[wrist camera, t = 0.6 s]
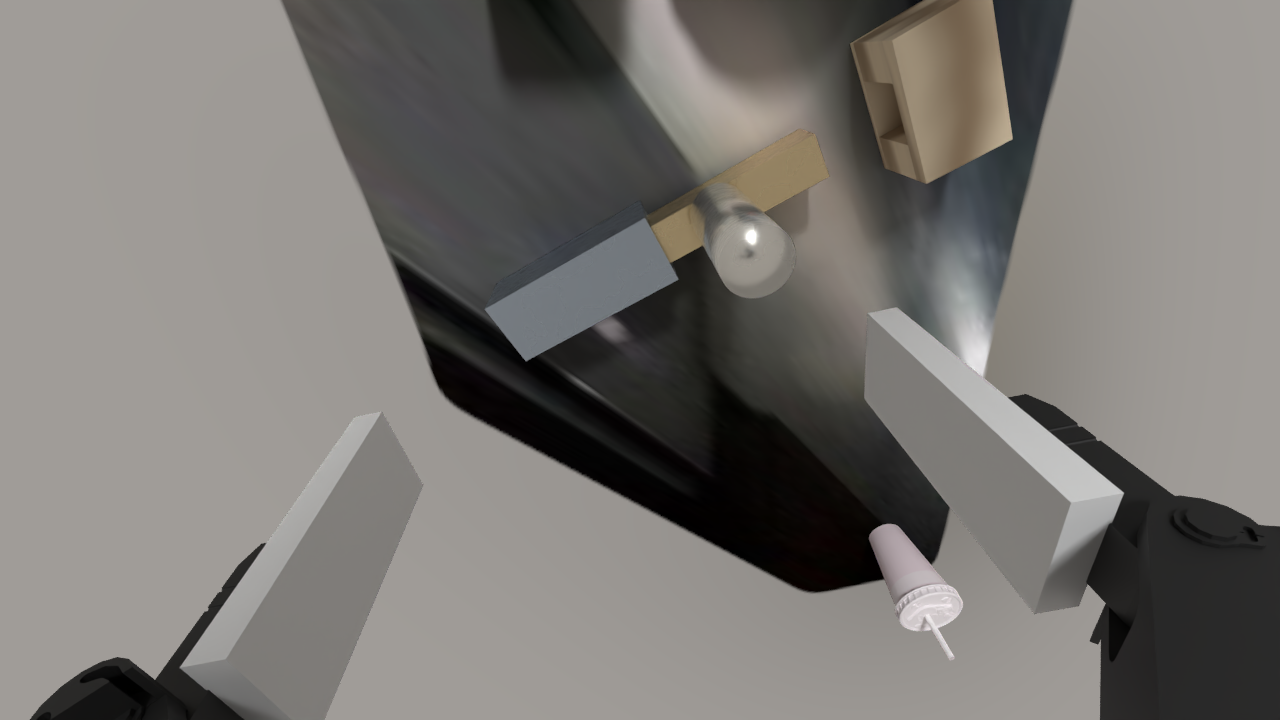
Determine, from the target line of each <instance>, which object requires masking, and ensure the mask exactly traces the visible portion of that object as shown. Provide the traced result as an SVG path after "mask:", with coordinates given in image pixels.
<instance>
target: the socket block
mask: <svg viewBox="0 0 1280 720" xmlns="http://www.w3.org/2000/svg"><path fill="white" fill-rule="evenodd" d="M850 46H851V50H852V53H853V57H854V60H855V64H856V68H857V71H858V75H859V78H860V82H861V85H862V89H863V93H864V96H865V100H866V103H867V107H868V111H869V114H870V118H871V121H872V125H873V128H874V132H875V136H876V139H877V143H878V146H879V150H880V153H881V157H882V161H883V164H884V168H885V169H888V170H891V171H893V172H896V173H899V174H901V175H904V176H907V177H909V178H912V179H915V180H917V181H920V182H923V183H925V184H927V183H929V182H931V181H933V180H935V179H937V178H939V177H941V176H943V175H945V174H947V173H949V172H951V171H952V170H954V169H956V168H958V167H960V166H962V165H964V164H966V163H968V162H970V161H972V160H974V159H975V158H977V157H979V156H981V155H983V154H985V153H987V152H989V151H991V150H993V149H995V148H997V147H999V146H1000V145H1002V144H1004V143H1006V142H1008V141H1010V140H1012V139H1013V138H1012V131H1011V124H1010V117H1009V110H1008V103H1007V97H1006V90H1005V83H1004V76H1003V69H1002V62H1001V56H1000V49H999V42H998V35H997V28H996V22H995V15H994V8H993V1H992V0H923V1H921V2H919V3H917V4H916V5H914V6H912V7H911V8H909V9H907V10H906V11H904V12H902V13H901V14H899V15H897V16H896V17H894V18H892V19H890V20H889V21H887V22H885V23H884V24H882V25H880V26H879V27H877V28H875V29H874V30H872V31H870V32H869V33H867V34H865V35H863V36H862V37H860V38H858V39H857V40H855V41H853V42H852V43H850Z"/></svg>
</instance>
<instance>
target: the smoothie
mask: <svg viewBox="0 0 1280 720" xmlns="http://www.w3.org/2000/svg"><path fill="white" fill-rule="evenodd" d="M869 541H870V543H871V546H872V548H873V551H874V553H875V556H876V559H877V561H878V564H879V566H880V569H881V571H882V574H883V576H884V579H885V581H886V584H887V586H888V589H889V591H890V594H891V597H892V599H893V601H894V604H895V606H896V608H895V614H896V616H897V618H898V619H899V621H900V623H901V625H902V626H903V627H905V628H906V629H909V630H912V631H928V630H932V631H933V633H934V635H935V637H936V638H937V640H938V642H939V643H940V645H941V647H942V648H943V650H944V652H945V654H946V655H947V657H948V659H949V660H953V659H954V658H955V657H954V655H953V654H952V652H951V650H950V649H949V647H948V645H947V643H946V642H945V640H944V639H943V637H942V635H941V633H940V632H939V630H938V628H939V627H941V626H944V625H946V624H948V623H949V622H951V621H952V620H953V619H955V618H956V617H957V616H958V614H959V613H960V612H961V610H962V607H963V601H962V599H961V598H960V596H959V594H958V592H957V590H956V589H954V588H953V587H951V586H948V585H947V583H946V582H945V581H944V580H943V578H942V577H941V576H940V575H939V574H938V573H937V571H936V570H935V569H934V568H933V567H932V566H931V564H930V563H929V562H928V561H927V560H926V558H925V557H924V556H923V555H922V554H921V552H920V551H919V550H918V549H917V548H916V547H915V545H914V544H913V543H912V542H911V541H910V539H909V538H908V537H907V536H906V535H905V533H904V532H903V531H902V530H901V529H900V528H899V527H898V526H897V525H894V524H885V525H882V526H879V527H877V528H876V529H874V530H873V531H872V532H871V534H870V536H869Z"/></svg>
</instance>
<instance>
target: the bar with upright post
mask: <svg viewBox="0 0 1280 720" xmlns="http://www.w3.org/2000/svg"><path fill="white" fill-rule="evenodd" d="M828 177H829V174H828V171H827V168H826V165H825V162H824V159H823V156H822V153H821V150H820V147H819V144H818V141H817V138H816V135H815V134H814V133H811V132H808V131H805V130H802V129H798V130H796V131H795V132H793V133H791V134H789V135H788V136H786V137H784V138H782V139H781V140H779V141H777V142H775V143H774V144H772V145H770V146H768V147H766V148H765V149H763V150H761V151H759V152H758V153H756V154H754V155H752V156H751V157H749V158H747V159H745V160H744V161H742V162H740V163H738V164H737V165H735V166H733V167H731V168H730V169H728V170H726V171H724V172H723V173H721V174H719V175H717V176H716V177H714V178H712V179H710V180H709V181H707V182H705V183H703V184H702V185H700V186H698V187H696V188H695V189H693V190H691V191H689V192H688V193H686V194H684V195H682V196H681V197H679V198H677V199H675V200H674V201H672V202H670V203H668V204H667V205H665V206H663V207H661V208H660V209H658V210H656V211H654V212H653V213H651V214H649V215H647V219H648V222H649V225H650V227H651V229H652V230H653V232H654V234H655V236H656V238H657V240H658V241H659V243H660V245H661V247H662V249H663V251H664V252H665V254H666V256H667V258H668V260H669V261H670V263H671V262H673V261H675V260H677V259H679V258H681V257H682V256H684V255H686V254H688V253H690V252H692V251H693V250H695V249H697V248H699V247H701V246H703V247H704V249H705V251H706V252H707V254H708V256H709V258H710V260H711V261H712V263H713V265H714V267H715V269H716V270H717V272H718V274H719V276H720V278H721V279H722V281H723V283H724V285H725V286H726V287H727V288H728V289H729V290H730V291H731V292H732V293H734V294H736V295H738V296H740V297H744V298H752V299H753V298H761V297H765V296H768V295H770V294H772V293H774V292H775V291H777V290H778V289H780V288H781V287H782V286H783V285H784V284H785V283H786V282H787V280H788V279H789V277H790V276H791V274H792V272H793V269H794V267H795V263H796V250H795V246H794V243H793V241H792V239H791V238H790V236H789V235H788V234H787V233H786V232H785V231H784V230H783V229H782V228H781V227H780V226H779V225H777V224H776V223H775V222H774V221H773V220H772V219H771V218H770V217H769V216H768V215H767V214H766V213H764V212H765V211H767V210H769V209H771V208H773V207H774V206H776V205H778V204H780V203H782V202H784V201H785V200H787V199H789V198H791V197H793V196H795V195H796V194H798V193H800V192H802V191H804V190H806V189H807V188H809V187H811V186H813V185H815V184H817V183H818V182H820V181H822V180H824V179H826V178H828Z"/></svg>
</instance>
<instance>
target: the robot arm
mask: <svg viewBox="0 0 1280 720" xmlns="http://www.w3.org/2000/svg"><path fill="white" fill-rule="evenodd" d="M864 399H865V400H866V402H867V403H868V404H869V406H870V407H871V408H872V409H873V411H874V412H875V413H876V414H877V416H878V417H879V418H880V419H881V421H882V422H883V423H884V424H885V426H886V427H887V428H888V430H889V431H890V432H891V433H892V435H893V436H894V437H895V438H896V440H897V441H898V442H899V443H900V445H901V446H902V447H903V449H904V450H905V451H906V452H907V454H908V455H909V456H910V457H911V459H912V460H913V461H914V462H915V464H916V465H917V466H918V468H919V469H920V470H921V471H922V473H923V474H924V475H925V476H926V478H927V479H928V480H929V481H930V483H931V484H932V485H933V487H934V488H935V489H936V490H937V492H938V493H939V494H940V495H941V497H942V498H943V499H944V500H945V502H946V503H947V504H948V506H949V507H950V508H951V509H952V511H953V512H954V513H955V514H956V515H957V517H958V518H959V519H960V521H961V522H962V523H963V525H964V526H965V527H966V528H967V530H968V531H969V532H970V533H971V535H972V536H973V537H974V538H975V540H976V541H977V542H978V543H979V545H980V546H981V547H982V549H983V550H984V551H985V552H986V554H987V555H988V556H989V557H990V559H991V560H992V561H993V563H994V564H995V565H996V566H997V568H998V569H999V570H1000V571H1001V573H1002V574H1003V575H1004V576H1005V578H1006V579H1007V580H1008V581H1009V583H1010V584H1011V585H1012V587H1013V588H1014V589H1015V590H1016V591H1017V593H1018V594H1019V595H1020V597H1021V598H1022V599H1023V600H1024V602H1025V603H1026V604H1027V605H1028V607H1029V608H1030V609H1031V610H1032V612H1033V613H1034V614H1037V613H1043V612H1048V611H1053V610H1059V609H1065V608H1071V607H1076V606H1079V604H1080V602H1081V599H1082V596H1083V594H1084V591H1085V589H1086V587H1087V584H1088V585H1089V586H1090V587H1091V588H1092V589H1093V590H1094V591H1095V592H1096V593H1097V594H1098V595H1099V596H1100V597H1101V599H1102V600H1103V601H1104V602H1105V603H1106V604H1105V606H1104V609H1103V611H1102V613H1101V615H1100V618H1099V620H1098V623H1097V624H1096V627H1095V629H1094V631H1093V634H1092V637H1091V639H1090V642H1093V643H1096V644H1099V642H1100V640H1101V686H1100V720H1280V527H1279V526H1264V525H1258V524H1257V523H1256V522H1254V521H1253V520H1252V519H1251V518H1249V517H1247V516H1245V515H1243V514H1241V513H1239V512H1237V511H1235V510H1233V509H1231V508H1229V507H1227V506H1224V505H1220V504H1218V503H1215V502H1211V501H1208V500H1205V499H1201V498H1193V497H1186V496H1174V495H1173V494H1171V493H1170V492H1168V491H1167V490H1166V489H1164V488H1163V487H1162V486H1160V485H1159V484H1158V483H1156V482H1155V481H1154V480H1152V479H1151V478H1149V477H1148V476H1147V475H1145V474H1144V473H1143V472H1142V471H1140V470H1139V469H1138V468H1136V467H1135V466H1134V465H1132V464H1131V463H1130V462H1128V461H1127V460H1126V459H1124V458H1123V457H1122V456H1120V455H1119V454H1118V453H1116V452H1115V451H1114V450H1112V449H1111V448H1110V447H1108V446H1107V445H1106V444H1104V443H1103V442H1102V441H1097V440H1096V437H1095V436H1094V435H1092V434H1091V433H1090V432H1088V431H1087V430H1086V429H1084V428H1083V427H1079V426H1078V425H1077V423H1076V422H1075V421H1074V420H1072V419H1071V418H1070V417H1068V416H1067V415H1066V414H1064V413H1063V412H1062V411H1060V410H1059V409H1058V408H1057V407H1055V406H1053V405H1050V404H1048V403H1046V402H1043V401H1041V400H1039V399H1036V398H1034V397H1032V396H1029V395H1027V394H1024V395H1020V396H1014V397H1009V398H1007V397H1006V396H1005V395H1004V394H1002V393H1001V392H1000V391H999V390H997V389H996V388H995V387H994V386H993V385H991V384H990V383H989V382H988V381H986V380H985V379H984V378H983V377H982V376H980V375H979V374H978V373H977V372H975V371H974V370H973V369H972V368H971V367H969V366H968V365H967V364H966V363H964V362H963V361H962V360H961V359H960V358H958V357H957V356H956V355H955V354H953V353H952V352H951V351H950V350H949V349H947V348H946V347H945V346H944V345H942V344H941V343H940V342H939V341H938V340H936V339H935V338H934V337H933V336H931V335H930V334H929V333H928V332H927V331H925V330H924V329H923V328H922V327H920V326H919V325H918V324H917V323H916V322H914V321H913V320H912V319H911V318H909V317H908V316H907V315H906V314H905V313H903V312H902V311H901V310H900V309H898V308H897V307H895V308H891V309H886V310H881V311H876V312H871V313H867V336H866V363H865V390H864ZM422 487H423V484H422V482H421V480H420V478H419V477H418V475H417V473H416V471H415V469H414V468H413V466H412V464H411V462H410V461H409V459H408V457H407V455H406V453H405V452H404V450H403V448H402V446H401V445H400V443H399V441H398V439H397V437H396V436H395V434H394V432H393V430H392V428H391V427H390V425H389V423H388V421H387V420H386V418H385V416H384V414H383V412H377V413H372V414H367V415H362V416H357V417H354V419H353V420H352V422H351V423H350V425H349V426H348V428H347V429H346V430H345V432H344V433H343V435H342V436H341V437H340V439H339V440H338V442H337V443H336V445H335V446H334V447H333V449H332V450H331V452H330V453H329V455H328V456H327V458H326V459H325V460H324V462H323V463H322V465H321V466H320V468H319V469H318V471H317V472H316V473H315V475H314V476H313V478H312V479H311V480H310V482H309V483H308V485H307V486H306V488H305V489H304V491H303V492H302V493H301V495H300V496H299V498H298V499H297V501H296V502H295V503H294V505H293V506H292V508H291V509H290V511H289V512H288V513H287V515H286V516H285V518H284V519H283V520H282V522H281V523H280V525H279V526H278V528H277V529H276V531H275V532H274V533H273V535H272V536H271V538H270V539H269V540H268V542H267V543H264V544H261V545H260V546H259V547H257V549H255V550H254V551H253V552H252V553H251V554H250V555H249V556H248V557H247V558H246V559H245V560H243V561H242V562H241V563H240V564H239V565H238V566H237V568H236V569H235V571H234V572H233V573H232V575H231V576H230V577H229V579H228V580H227V582H226V583H225V584H224V586H223V587H222V592H219V593H218V594H217V595H216V597H215V598H214V599H213V601H212V602H211V604H210V605H209V607H208V608H209V610H208V611H207V612H204V613H203V615H202V616H201V617H200V619H199V620H198V622H197V623H196V624H195V626H194V627H193V628H192V630H191V631H190V633H189V634H188V635H187V637H186V638H185V640H184V641H183V642H182V644H181V645H180V647H179V648H178V649H177V651H176V652H175V653H174V655H173V656H172V657H171V659H170V660H169V662H168V663H167V665H166V666H165V667H164V669H163V670H162V671H161V673H160V674H159V675H158V677H157V678H156V680H154V679H153V678H152V677H151V676H149V675H148V674H147V673H145V672H144V671H143V670H142V669H140V668H139V667H138V666H137V665H135V664H134V663H133V662H131V661H130V660H129V659H125V658H119V657H117V658H113V659H110V660H106V661H102V662H100V663H98V664H96V665H94V666H92V667H91V668H88V669H87V670H85V671H83V672H81V673H80V674H79V675H77V676H75V677H74V678H73V679H71V680H70V681H68V682H67V683H66V684H64V685H63V686H62V687H60V688H59V689H58V690H57V691H56V692H55V693H54V694H53V695H52V696H51V697H50V698H49V699H47V700H46V701H45V702H44V703H43V704H42V705H41V706H40V707H39V709H38V710H37V711H36V713H35V714H34V715H33V716H32V718H31V719H30V720H324V719H325V717H326V714H327V712H328V710H329V707H330V705H331V703H332V700H333V698H334V696H335V693H336V691H337V688H338V686H339V683H340V681H341V679H342V677H343V674H344V672H345V670H346V667H347V665H348V662H349V660H350V657H351V655H352V653H353V650H354V648H355V646H356V643H357V641H358V639H359V636H360V634H361V631H362V629H363V627H364V624H365V622H366V620H367V617H368V615H369V613H370V610H371V608H372V606H373V603H374V601H375V598H376V596H377V594H378V591H379V589H380V587H381V584H382V582H383V579H384V577H385V575H386V572H387V570H388V568H389V565H390V563H391V561H392V558H393V556H394V553H395V551H396V548H397V546H398V544H399V542H400V539H401V537H402V534H403V532H404V530H405V527H406V525H407V523H408V520H409V518H410V516H411V513H412V511H413V508H414V506H415V504H416V501H417V499H418V496H419V494H420V492H421V489H422Z"/></svg>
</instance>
